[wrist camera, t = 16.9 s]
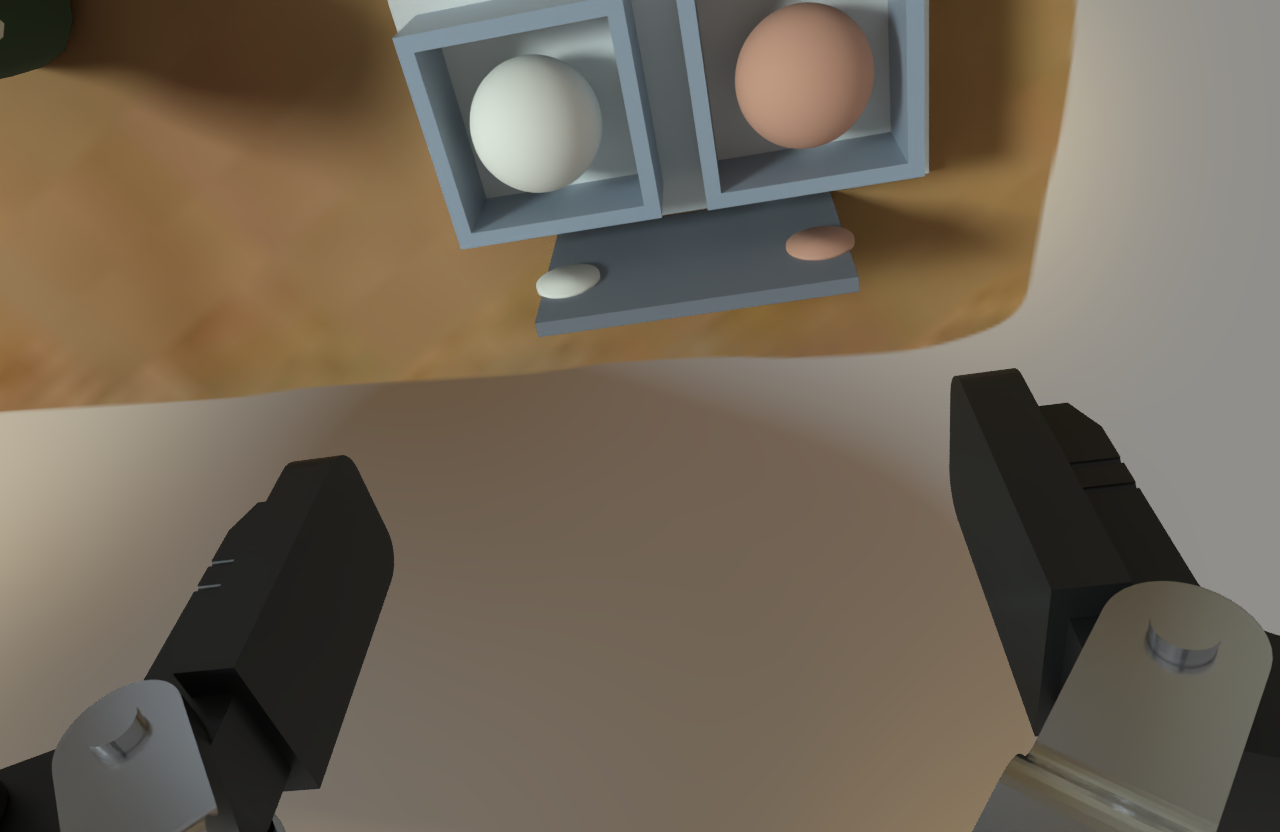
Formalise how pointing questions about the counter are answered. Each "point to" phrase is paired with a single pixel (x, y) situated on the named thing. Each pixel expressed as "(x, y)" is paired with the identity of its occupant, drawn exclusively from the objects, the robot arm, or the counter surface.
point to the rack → (652, 107)
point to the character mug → (32, 33)
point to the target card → (696, 264)
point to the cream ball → (535, 123)
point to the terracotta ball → (804, 75)
